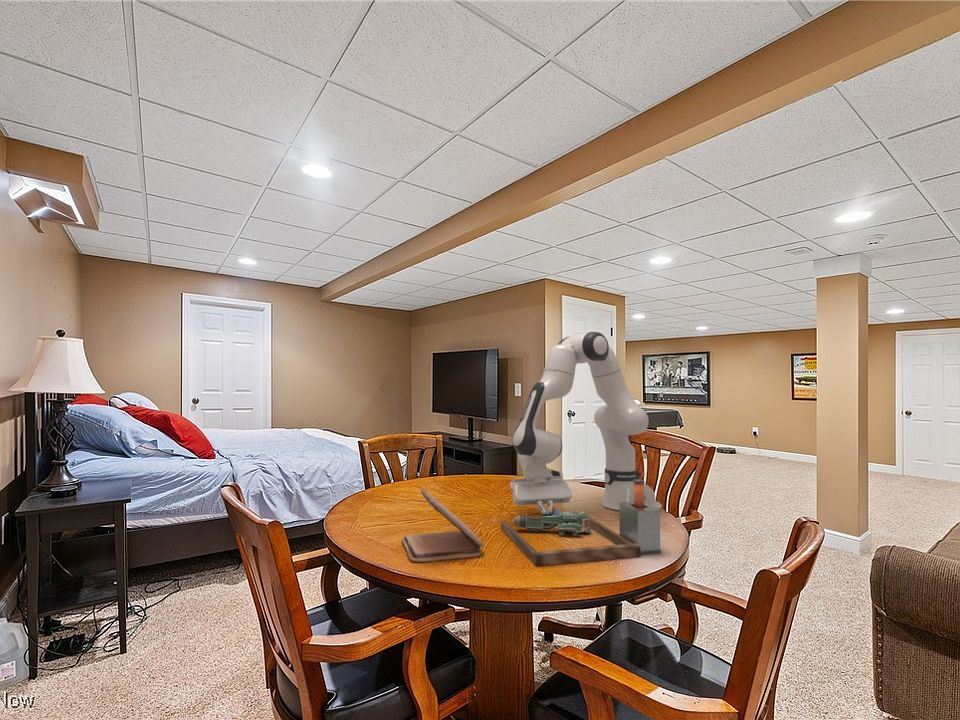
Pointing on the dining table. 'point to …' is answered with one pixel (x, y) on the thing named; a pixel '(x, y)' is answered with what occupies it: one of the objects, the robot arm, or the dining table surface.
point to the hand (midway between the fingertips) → (547, 514)
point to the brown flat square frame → (578, 554)
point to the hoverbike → (555, 522)
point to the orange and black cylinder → (638, 493)
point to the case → (443, 539)
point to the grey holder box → (640, 526)
